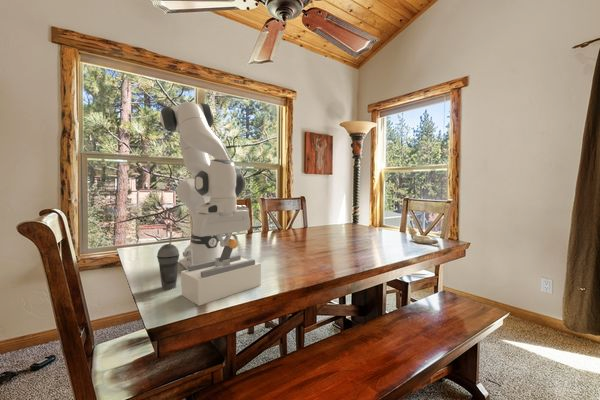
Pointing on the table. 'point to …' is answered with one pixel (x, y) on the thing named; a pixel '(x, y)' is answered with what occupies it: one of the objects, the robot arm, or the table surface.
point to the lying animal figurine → (420, 237)
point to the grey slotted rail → (220, 269)
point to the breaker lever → (228, 250)
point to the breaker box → (219, 282)
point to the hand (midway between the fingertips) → (224, 246)
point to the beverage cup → (168, 264)
